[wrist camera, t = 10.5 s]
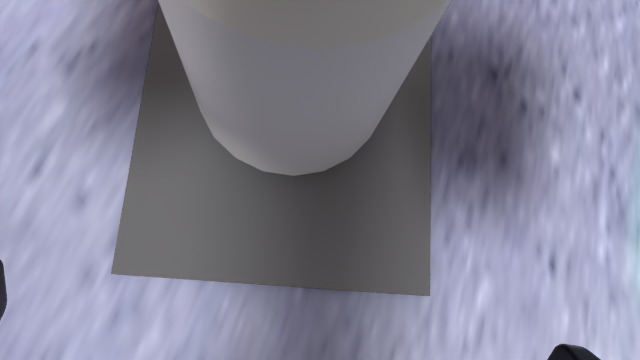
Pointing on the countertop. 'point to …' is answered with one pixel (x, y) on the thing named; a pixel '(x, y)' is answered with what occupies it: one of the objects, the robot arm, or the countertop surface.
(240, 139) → the can
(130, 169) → the seat pad
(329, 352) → the countertop surface
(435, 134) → the countertop surface
